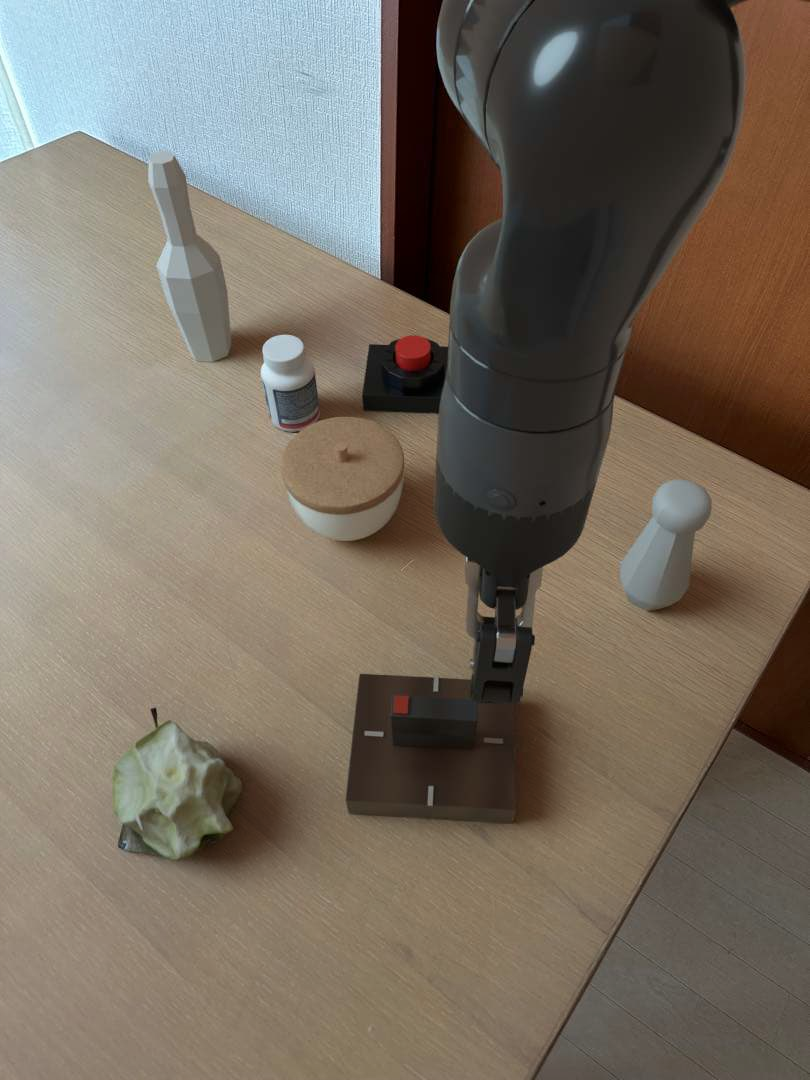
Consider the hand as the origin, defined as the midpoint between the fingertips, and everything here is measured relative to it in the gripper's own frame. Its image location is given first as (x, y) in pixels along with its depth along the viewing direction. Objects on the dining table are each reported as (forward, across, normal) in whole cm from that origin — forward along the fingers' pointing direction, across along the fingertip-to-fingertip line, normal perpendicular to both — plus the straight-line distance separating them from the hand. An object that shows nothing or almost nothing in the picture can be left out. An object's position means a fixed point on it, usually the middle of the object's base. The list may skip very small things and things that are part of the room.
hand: (489, 632), depth 51 cm
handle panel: (+17, -1, +3) cm, 17 cm away
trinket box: (+17, +22, +12) cm, 30 cm away
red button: (+13, +40, +7) cm, 43 cm away
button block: (+17, +40, +7) cm, 44 cm away
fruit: (+17, -6, +21) cm, 28 cm away
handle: (+14, -1, +3) cm, 14 cm away
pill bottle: (+17, +35, +19) cm, 43 cm away
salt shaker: (+16, +15, -15) cm, 27 cm away
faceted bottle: (+17, +45, +30) cm, 57 cm away
